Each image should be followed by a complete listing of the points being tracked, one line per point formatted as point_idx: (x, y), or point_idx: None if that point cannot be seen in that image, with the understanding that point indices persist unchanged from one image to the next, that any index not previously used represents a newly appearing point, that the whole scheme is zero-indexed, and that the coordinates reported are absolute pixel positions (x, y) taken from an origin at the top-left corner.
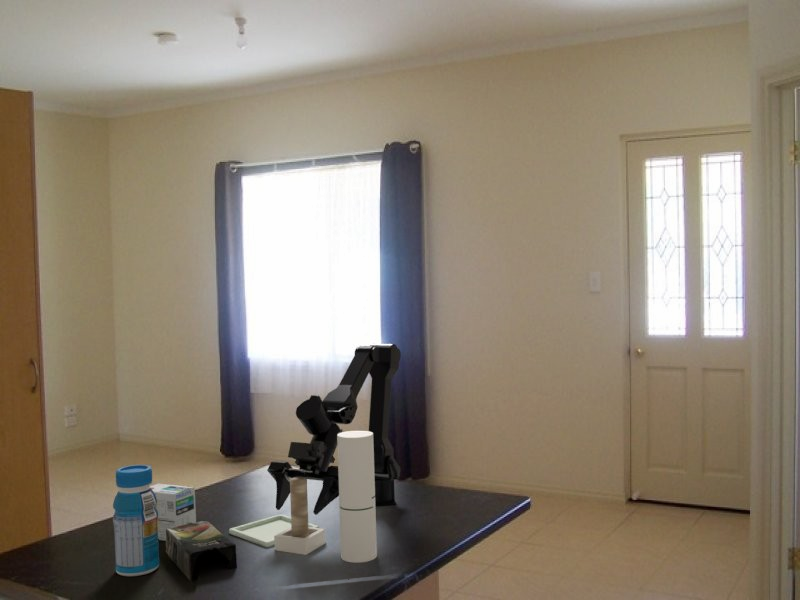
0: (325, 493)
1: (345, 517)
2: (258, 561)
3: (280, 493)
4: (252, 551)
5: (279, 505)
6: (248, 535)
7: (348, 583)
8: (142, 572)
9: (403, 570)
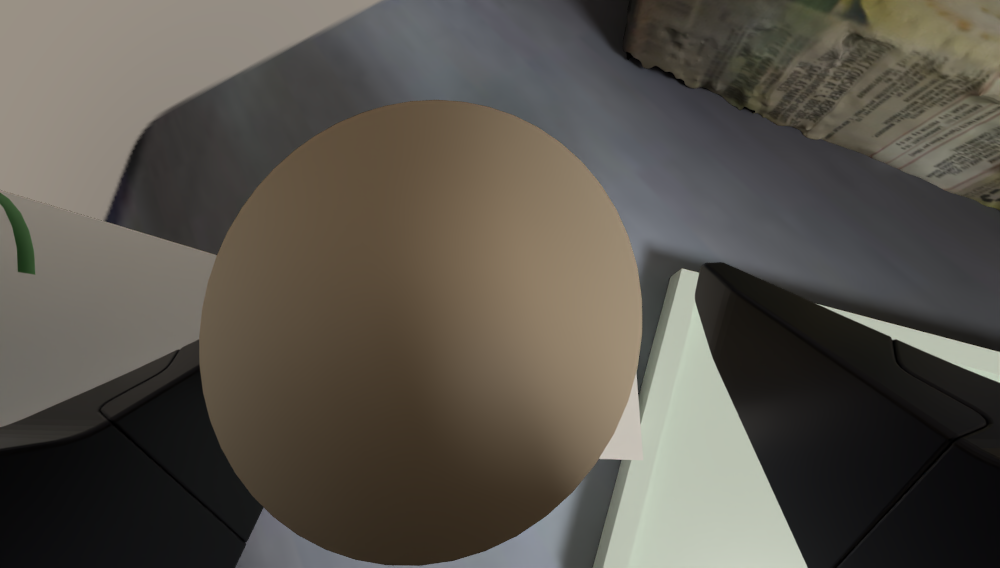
0: (121, 381)
1: (54, 206)
2: (610, 161)
3: (797, 332)
4: (724, 239)
5: (711, 300)
6: (872, 322)
7: (223, 145)
8: None
9: None
